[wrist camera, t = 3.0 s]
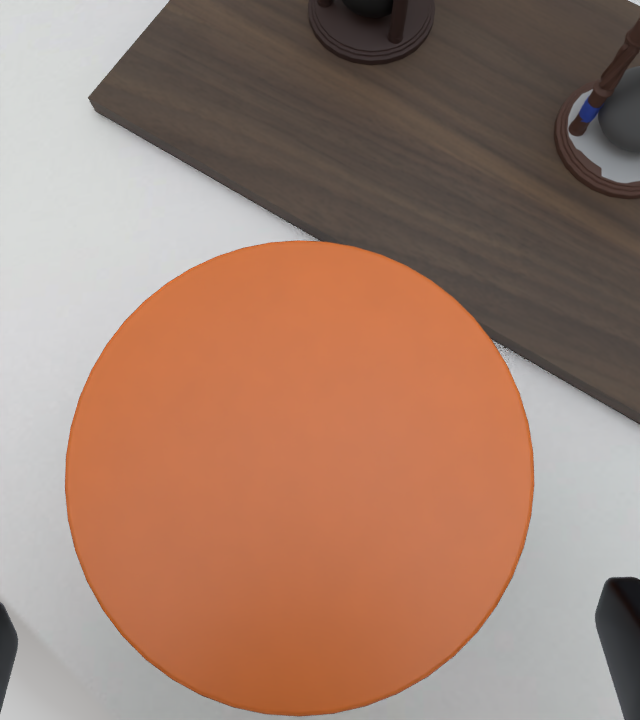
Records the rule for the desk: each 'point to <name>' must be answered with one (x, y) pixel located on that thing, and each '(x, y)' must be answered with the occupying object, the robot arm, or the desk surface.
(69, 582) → the desk surface
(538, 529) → the desk surface
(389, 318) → the cap
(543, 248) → the hourglass set
